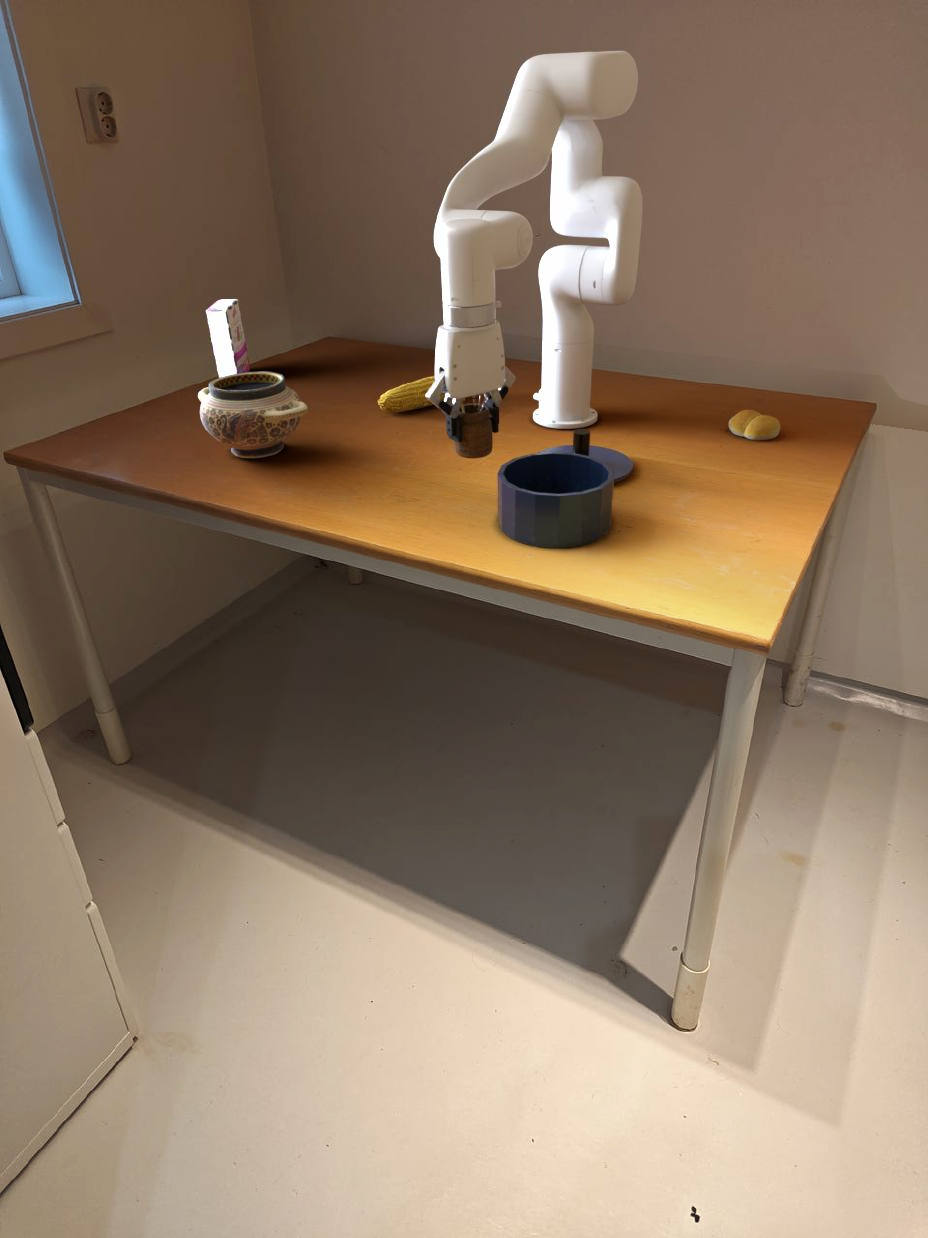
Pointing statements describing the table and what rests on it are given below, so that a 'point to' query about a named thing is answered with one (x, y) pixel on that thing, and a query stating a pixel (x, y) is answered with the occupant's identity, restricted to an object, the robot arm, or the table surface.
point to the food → (408, 396)
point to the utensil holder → (475, 431)
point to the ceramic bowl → (251, 412)
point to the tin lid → (597, 453)
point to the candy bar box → (228, 337)
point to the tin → (555, 499)
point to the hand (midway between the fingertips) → (473, 434)
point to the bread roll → (754, 425)
